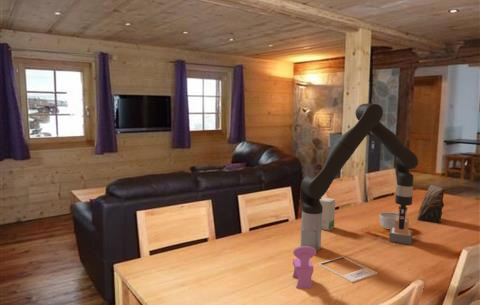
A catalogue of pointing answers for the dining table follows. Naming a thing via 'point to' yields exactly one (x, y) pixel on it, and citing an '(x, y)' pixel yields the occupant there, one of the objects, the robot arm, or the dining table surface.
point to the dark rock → (432, 205)
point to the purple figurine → (303, 266)
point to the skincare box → (328, 213)
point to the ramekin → (388, 219)
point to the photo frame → (353, 275)
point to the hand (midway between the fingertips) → (401, 226)
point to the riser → (400, 237)
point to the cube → (406, 224)
